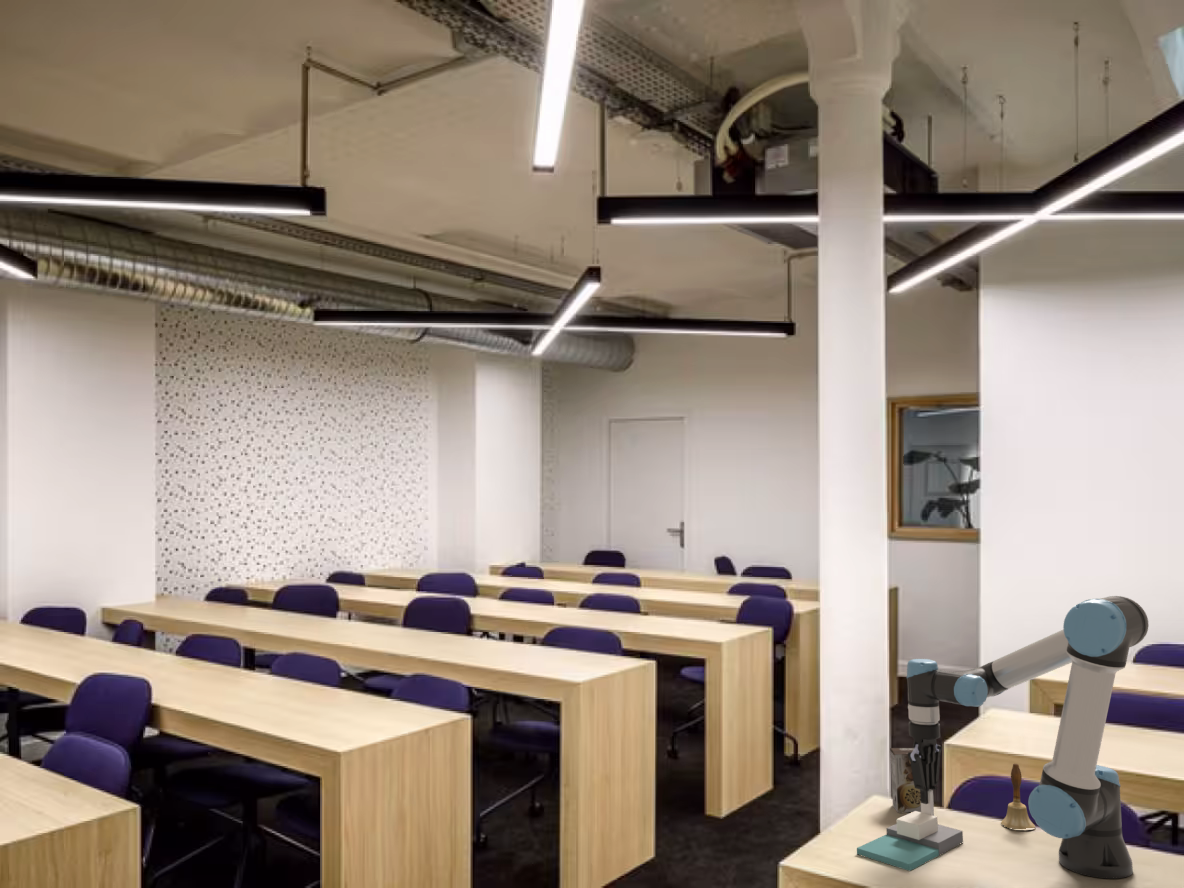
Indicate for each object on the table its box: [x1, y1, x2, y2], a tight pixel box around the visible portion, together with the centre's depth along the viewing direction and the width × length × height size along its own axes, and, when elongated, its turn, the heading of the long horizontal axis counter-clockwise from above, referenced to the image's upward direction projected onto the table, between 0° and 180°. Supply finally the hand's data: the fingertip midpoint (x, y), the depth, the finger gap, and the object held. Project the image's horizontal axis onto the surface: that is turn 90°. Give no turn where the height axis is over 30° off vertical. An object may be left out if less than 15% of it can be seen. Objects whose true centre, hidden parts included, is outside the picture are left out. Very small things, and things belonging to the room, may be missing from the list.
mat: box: [856, 833, 940, 872], centre depth 221 cm, size 14×13×2 cm
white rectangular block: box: [895, 811, 938, 840], centre depth 228 cm, size 6×9×4 cm, turn 131°
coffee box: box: [889, 747, 921, 814], centre depth 254 cm, size 9×6×16 cm
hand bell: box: [1000, 763, 1036, 829], centre depth 240 cm, size 8×8×16 cm
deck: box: [886, 823, 964, 856], centre depth 229 cm, size 14×12×3 cm
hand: (927, 815), depth 231 cm, fingers closed
